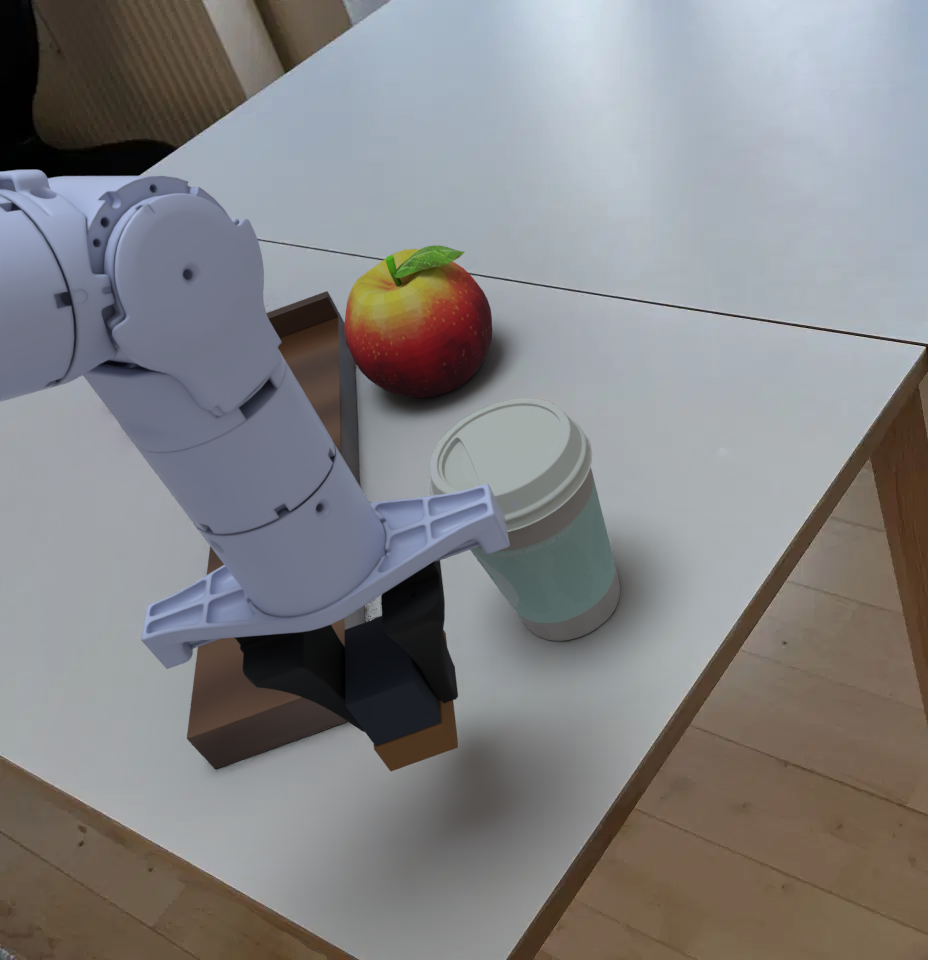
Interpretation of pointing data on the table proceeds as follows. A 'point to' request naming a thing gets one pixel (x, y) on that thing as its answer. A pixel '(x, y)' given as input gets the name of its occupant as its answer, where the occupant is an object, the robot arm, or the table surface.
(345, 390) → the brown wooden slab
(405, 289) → the fruit
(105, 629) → the table surface
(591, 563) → the coffee cup
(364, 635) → the cube on wooden base
